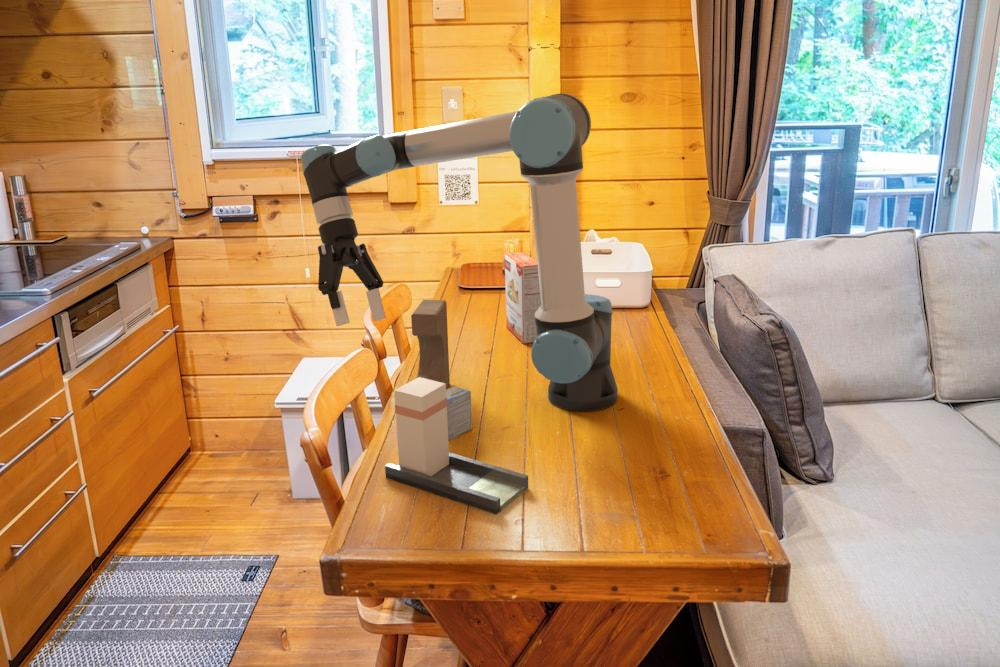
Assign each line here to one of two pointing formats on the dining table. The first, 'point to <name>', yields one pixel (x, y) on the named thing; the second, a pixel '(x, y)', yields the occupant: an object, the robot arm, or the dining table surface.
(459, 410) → the medicine box
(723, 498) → the dining table surface
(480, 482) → the chute
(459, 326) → the dining table surface
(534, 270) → the cracker box
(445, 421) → the block
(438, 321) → the decorative block
